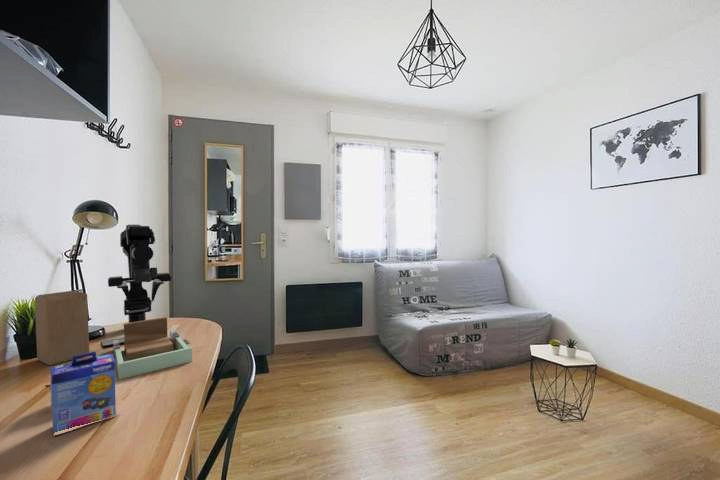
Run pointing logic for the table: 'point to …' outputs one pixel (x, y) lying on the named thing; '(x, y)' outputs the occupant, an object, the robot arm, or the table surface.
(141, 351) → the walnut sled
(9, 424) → the table surface
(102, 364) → the ink cartridge box
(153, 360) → the pale green tray
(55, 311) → the wooden block
